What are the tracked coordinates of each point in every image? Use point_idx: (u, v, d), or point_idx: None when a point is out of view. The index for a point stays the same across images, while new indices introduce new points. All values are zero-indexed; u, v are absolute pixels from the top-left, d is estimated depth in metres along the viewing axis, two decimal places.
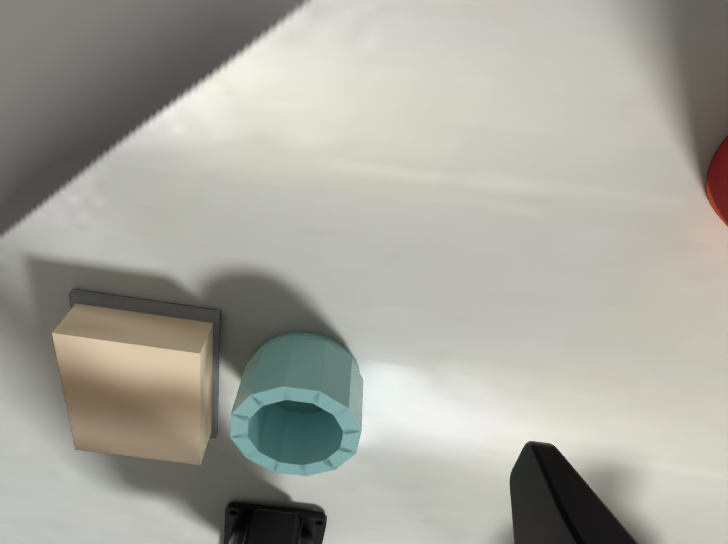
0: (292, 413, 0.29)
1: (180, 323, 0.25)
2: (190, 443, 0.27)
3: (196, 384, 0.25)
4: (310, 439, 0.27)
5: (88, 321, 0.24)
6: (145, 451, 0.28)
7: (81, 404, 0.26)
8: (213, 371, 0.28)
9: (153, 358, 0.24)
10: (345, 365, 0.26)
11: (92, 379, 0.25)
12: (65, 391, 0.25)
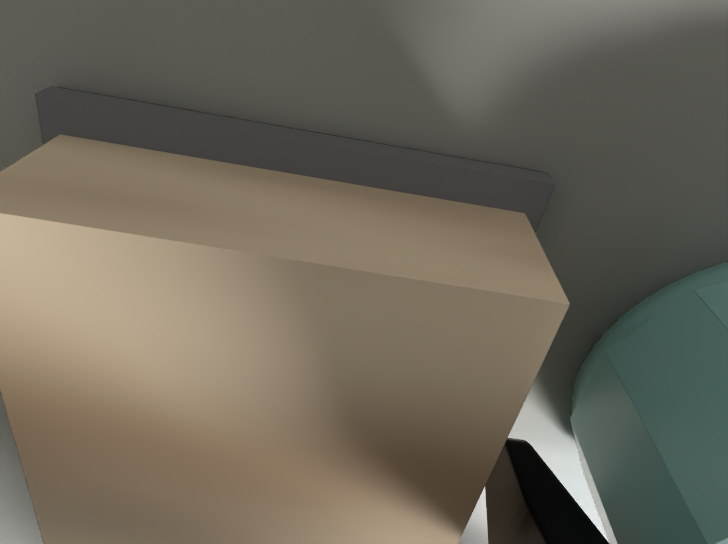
0: None
1: (425, 207, 0.07)
2: None
3: (499, 425, 0.07)
4: None
5: (106, 181, 0.06)
6: None
7: (77, 486, 0.08)
8: None
9: (365, 326, 0.06)
10: None
11: (117, 405, 0.07)
12: (21, 444, 0.07)
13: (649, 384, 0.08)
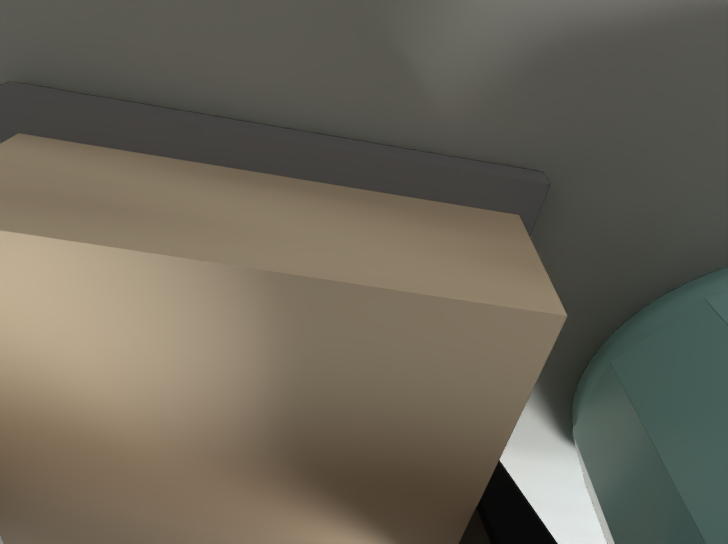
0: None
1: (412, 208, 0.07)
2: None
3: (492, 444, 0.06)
4: None
5: (64, 184, 0.06)
6: None
7: (43, 508, 0.07)
8: None
9: (346, 340, 0.06)
10: None
11: (81, 426, 0.06)
12: None
13: (657, 399, 0.07)
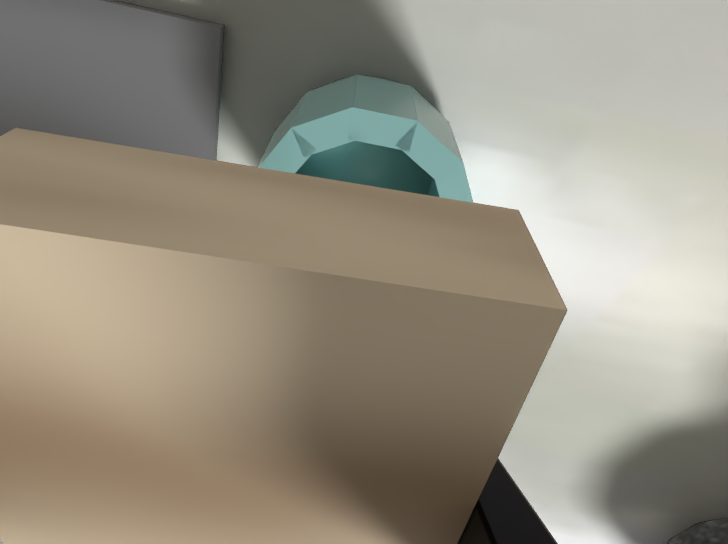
0: None
1: (412, 203, 0.07)
2: None
3: (490, 440, 0.06)
4: None
5: (61, 178, 0.06)
6: None
7: (41, 505, 0.07)
8: (208, 149, 0.17)
9: (344, 335, 0.06)
10: (443, 122, 0.15)
11: (79, 421, 0.06)
12: None
13: (275, 134, 0.16)
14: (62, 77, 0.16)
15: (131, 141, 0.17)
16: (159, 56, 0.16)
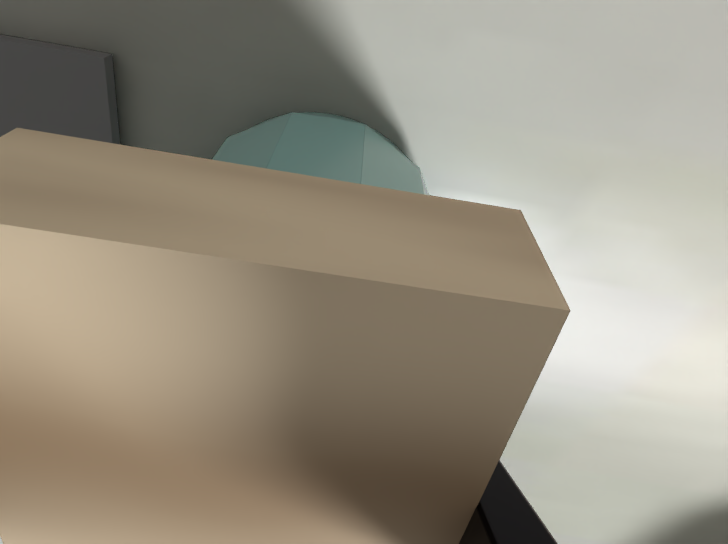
0: None
1: (414, 203, 0.07)
2: None
3: (493, 440, 0.06)
4: None
5: (62, 178, 0.06)
6: None
7: (42, 506, 0.07)
8: None
9: (347, 335, 0.05)
10: (409, 172, 0.11)
11: (80, 422, 0.06)
12: None
13: None
14: None
15: None
16: (30, 99, 0.12)
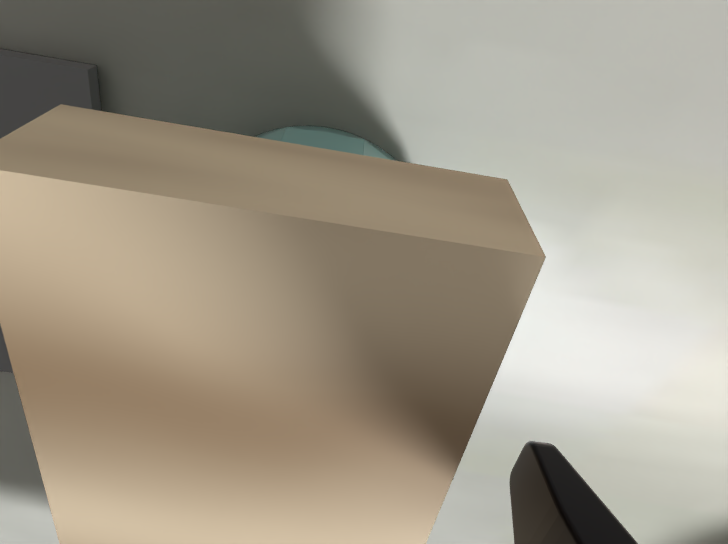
0: None
1: (412, 172, 0.08)
2: None
3: (481, 378, 0.07)
4: None
5: (106, 145, 0.07)
6: None
7: (80, 443, 0.08)
8: None
9: (353, 281, 0.06)
10: None
11: (119, 362, 0.07)
12: (27, 402, 0.08)
13: None
14: None
15: None
16: (10, 113, 0.11)
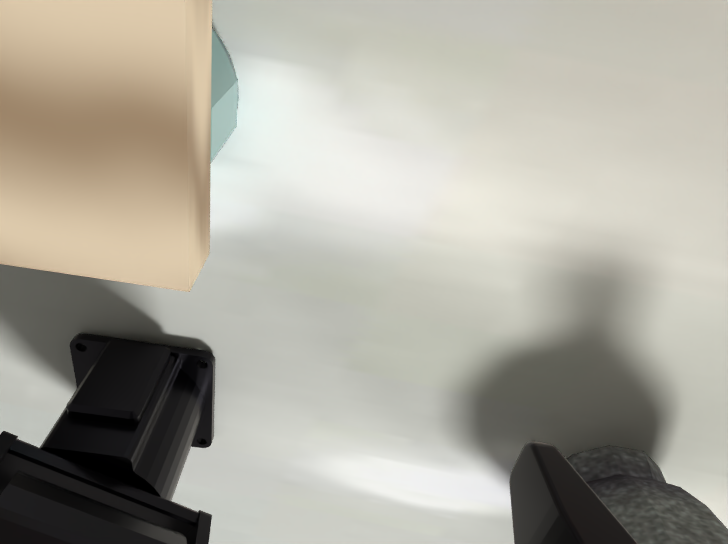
0: None
1: None
2: (169, 240, 0.15)
3: (179, 84, 0.12)
4: None
5: None
6: (87, 260, 0.15)
7: None
8: None
9: (87, 9, 0.12)
10: None
11: None
12: None
13: None
14: None
15: None
16: None
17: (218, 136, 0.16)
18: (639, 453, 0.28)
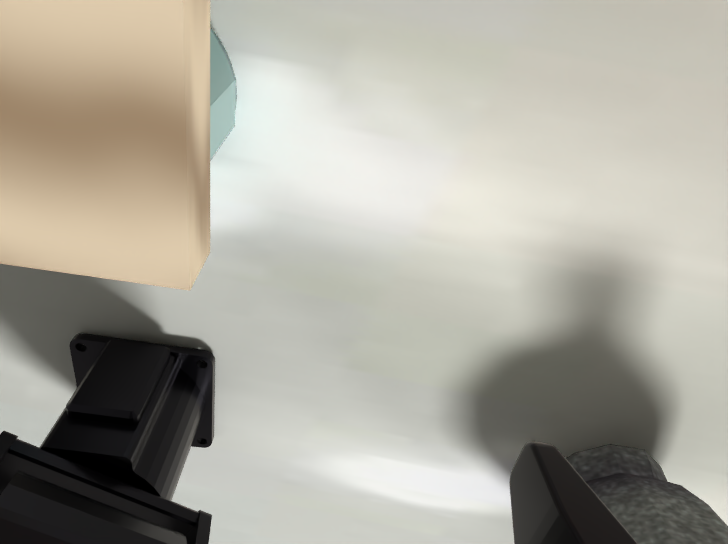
0: None
1: None
2: (170, 239, 0.15)
3: (177, 80, 0.12)
4: None
5: None
6: (87, 259, 0.15)
7: None
8: None
9: (84, 5, 0.12)
10: None
11: None
12: None
13: None
14: None
15: None
16: None
17: (216, 135, 0.16)
18: (640, 452, 0.28)
